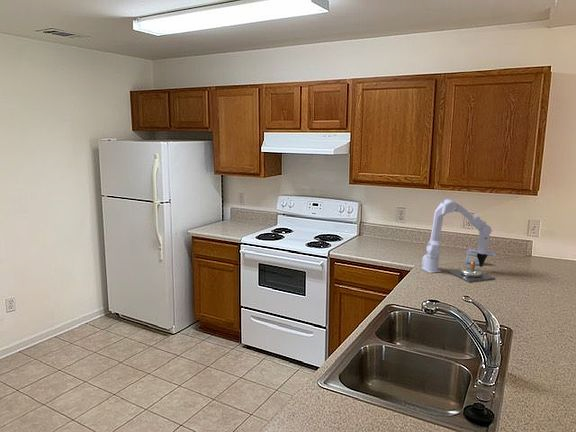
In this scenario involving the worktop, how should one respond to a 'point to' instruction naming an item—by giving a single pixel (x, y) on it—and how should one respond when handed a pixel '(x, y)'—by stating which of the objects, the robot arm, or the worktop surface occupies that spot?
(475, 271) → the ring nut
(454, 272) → the base plate
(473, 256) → the medicine box
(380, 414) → the worktop surface
